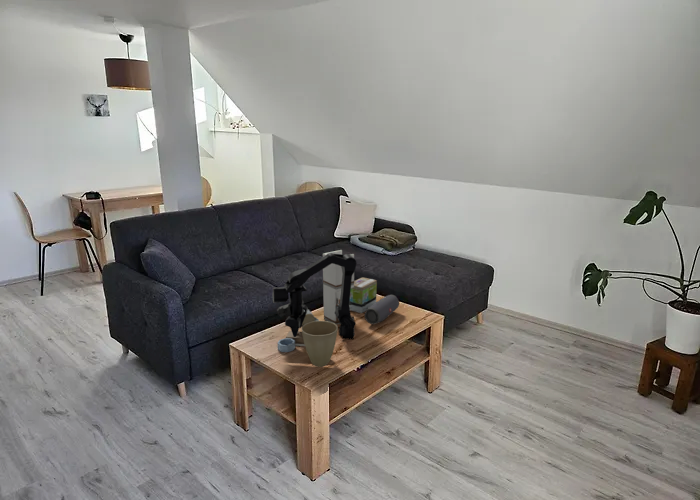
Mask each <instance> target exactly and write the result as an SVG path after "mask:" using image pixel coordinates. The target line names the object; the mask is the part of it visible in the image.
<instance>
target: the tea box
mask: <svg viewBox="0 0 700 500" xmlns="http://www.w3.org/2000/svg"><path fill="white" fill-rule="evenodd" d="M377 281H378V280H376V279H373V278H367V277H362V276H361V277H360V278H358V279H356V280H354V287H353V288H351V291H350V301H349V307H350V312H351V311H352V312H355V313H359V314H363V313H365V311H366V310H367V309H368V308H369V307H371V306H372V305H373V304H375V303H376V302H377V290H378V289H377V286H378V282H377Z"/></svg>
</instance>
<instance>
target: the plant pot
mask: <svg viewBox="0 0 700 500" xmlns="http://www.w3.org/2000/svg"><path fill="white" fill-rule="evenodd" d="M338 328H339V327H338V324H334V323H332V322H328V321H326V320H319V321H313V322H309V323H307V324H305V325H302V326H301V332H302V334H303V340H304V344H305V346H304V348H305V351H306V353H307V355H308V358H309V361H310V362H311V365H312V366H314V367H318V368H321V367H326V366H328V364H329V363H330V362H331V359H332V356H333V353H334V349H335V345H336V343H337V336H338V331H339V329H338Z"/></svg>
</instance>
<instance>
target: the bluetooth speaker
mask: <svg viewBox="0 0 700 500" xmlns="http://www.w3.org/2000/svg"><path fill="white" fill-rule="evenodd" d="M399 307H400V300H399V298H398V297H397V295H394V294H387V295H386V296H384V297H383V298H380V299H379V300H378V301H377V300H376V303H375V304H373V305H372V306H371V307H369V308H368V309H367V310H366V311H364V320H365V321H366V322H367V323H368V324H371V325H377V324H379V323H382V322H383V321H385V320H386V319H388V317H389V316H391V315H392V313H394V312H395V311H396V310H398V308H399Z"/></svg>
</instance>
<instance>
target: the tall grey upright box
mask: <svg viewBox="0 0 700 500" xmlns="http://www.w3.org/2000/svg"><path fill="white" fill-rule="evenodd" d="M328 253H333V254H342V255H343V250H342V249H340V250H339V249H338V250H335V251H330V252H329V251H328V252H325V253H322V257H324V256H326V255H327V254H328ZM349 254H350V255H351V256H352V257H353V258H354V259H355V254H354V253H352V254H351V253H349ZM342 276H343V273H342V268H341V266H339V265H336V264H330V265H329V266H327V267H325V268H324V269H322V281H323V282H322V288H323V289H322V290H323V291H322V292H323V294H322V295H323V296H322V297H323V320H324V321H328V322H332V323H334V324H336V325H341V323H340V322H339V320H338V319H337V317H336V315H335V310H336V309H335V306H338V305H339V303H340V297H341V286H342ZM354 281H355V272H354V273H353V275H352V281H351V288H353V287H354ZM351 317H352V319H353V320H354V321H355V316H354V315H352V314H351Z"/></svg>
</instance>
